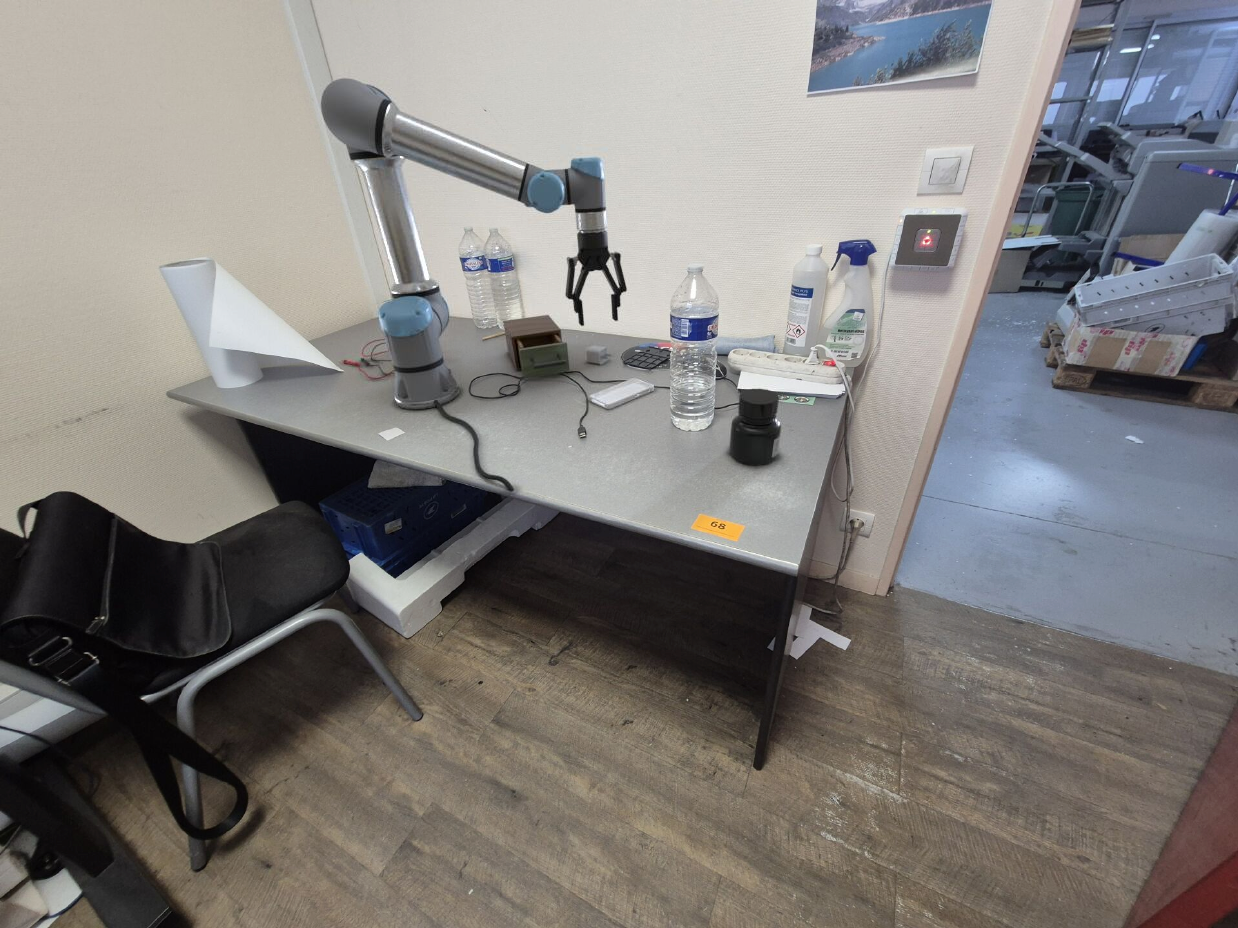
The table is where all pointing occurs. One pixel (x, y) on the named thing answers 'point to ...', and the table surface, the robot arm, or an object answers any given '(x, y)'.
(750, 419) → the ink bottle
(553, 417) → the table surface
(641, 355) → the table surface
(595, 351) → the usb wall charger
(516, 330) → the cabinet
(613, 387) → the phone case
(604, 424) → the table surface
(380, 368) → the multimeter test leads
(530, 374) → the drawer
